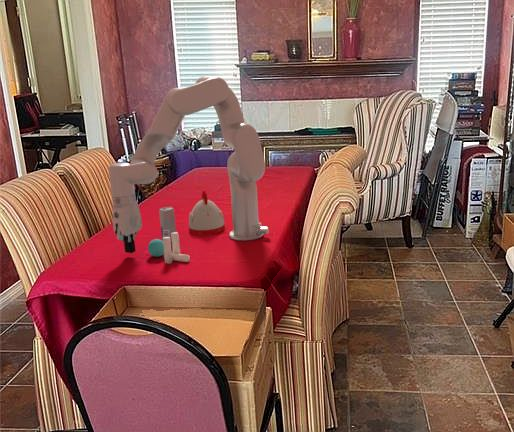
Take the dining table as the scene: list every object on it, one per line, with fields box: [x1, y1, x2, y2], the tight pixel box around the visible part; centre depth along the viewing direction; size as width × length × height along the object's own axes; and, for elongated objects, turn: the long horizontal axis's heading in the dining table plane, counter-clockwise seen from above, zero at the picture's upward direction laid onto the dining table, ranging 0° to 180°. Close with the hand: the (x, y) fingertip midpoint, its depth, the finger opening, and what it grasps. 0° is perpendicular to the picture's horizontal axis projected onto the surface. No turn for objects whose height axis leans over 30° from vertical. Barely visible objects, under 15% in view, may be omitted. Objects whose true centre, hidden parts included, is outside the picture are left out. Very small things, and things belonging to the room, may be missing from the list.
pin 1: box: [162, 237, 174, 265], centre depth 182 cm, size 2×2×8 cm
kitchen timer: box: [188, 190, 226, 235], centre depth 216 cm, size 14×14×15 cm
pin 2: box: [171, 231, 181, 254], centre depth 187 cm, size 2×2×8 cm
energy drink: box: [158, 206, 177, 242], centre depth 205 cm, size 5×5×12 cm
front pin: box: [163, 252, 191, 263], centre depth 185 cm, size 2×2×8 cm
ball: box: [147, 238, 164, 258], centre depth 189 cm, size 6×6×6 cm
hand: (130, 251), depth 191 cm, fingers closed
